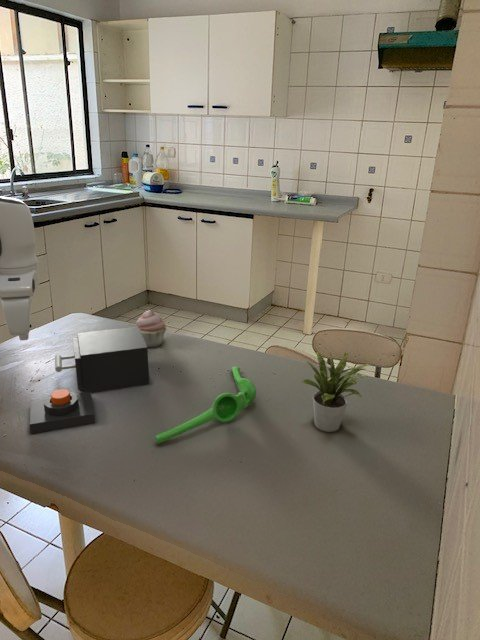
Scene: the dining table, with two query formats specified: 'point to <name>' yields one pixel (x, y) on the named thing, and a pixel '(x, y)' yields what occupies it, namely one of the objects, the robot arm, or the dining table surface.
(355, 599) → the dining table surface
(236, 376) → the lime squeezer
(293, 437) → the dining table surface
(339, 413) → the house plant
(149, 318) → the cupcake
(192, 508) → the dining table surface
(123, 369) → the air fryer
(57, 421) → the panel
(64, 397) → the button
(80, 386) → the basket drawer
